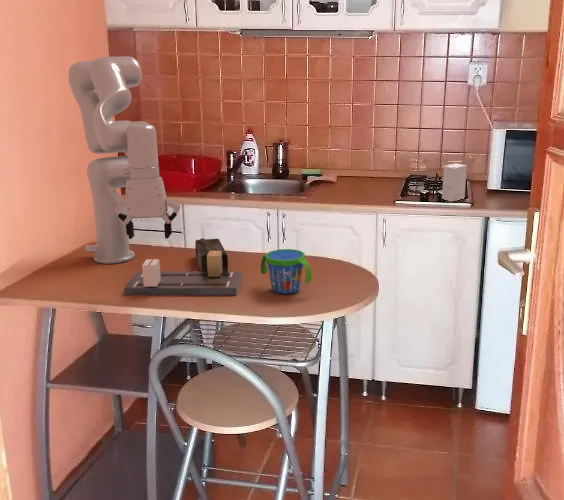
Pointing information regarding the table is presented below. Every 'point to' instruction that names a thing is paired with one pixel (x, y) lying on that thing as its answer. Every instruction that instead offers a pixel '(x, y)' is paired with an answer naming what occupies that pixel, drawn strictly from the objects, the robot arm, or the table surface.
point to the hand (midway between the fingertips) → (149, 237)
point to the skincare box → (454, 182)
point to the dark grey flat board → (186, 284)
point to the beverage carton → (203, 249)
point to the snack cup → (286, 269)
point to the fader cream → (151, 272)
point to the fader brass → (214, 263)
